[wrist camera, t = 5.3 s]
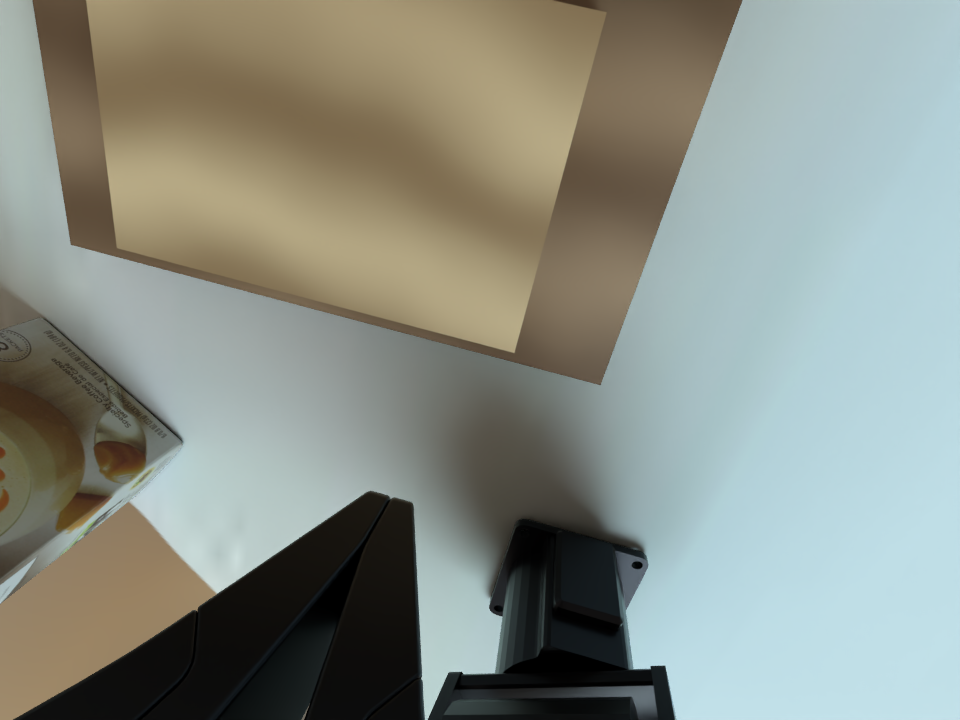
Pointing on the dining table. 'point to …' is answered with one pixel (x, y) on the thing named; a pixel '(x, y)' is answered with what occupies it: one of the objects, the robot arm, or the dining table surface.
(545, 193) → the tan rectangular panel
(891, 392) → the dining table surface
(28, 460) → the coffee box
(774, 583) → the dining table surface
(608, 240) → the floor board
